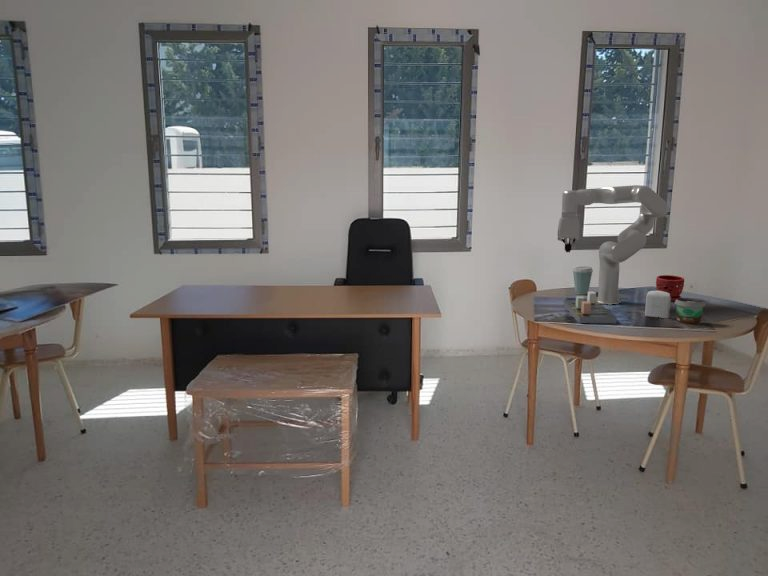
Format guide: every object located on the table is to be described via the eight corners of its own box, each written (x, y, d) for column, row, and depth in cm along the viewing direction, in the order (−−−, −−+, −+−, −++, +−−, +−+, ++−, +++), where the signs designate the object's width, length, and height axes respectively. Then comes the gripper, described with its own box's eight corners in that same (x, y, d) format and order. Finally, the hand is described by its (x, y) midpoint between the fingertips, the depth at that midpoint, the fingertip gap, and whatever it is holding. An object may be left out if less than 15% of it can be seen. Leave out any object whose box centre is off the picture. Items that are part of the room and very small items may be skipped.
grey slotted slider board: (596, 306, 288) (596, 300, 288) (616, 323, 255) (616, 317, 254) (563, 306, 290) (563, 300, 289) (579, 323, 257) (579, 316, 256)
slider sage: (581, 306, 274) (582, 296, 273) (584, 308, 270) (584, 298, 269) (575, 306, 274) (576, 296, 273) (577, 308, 270) (578, 298, 269)
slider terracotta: (587, 311, 263) (588, 301, 262) (590, 314, 259) (590, 303, 258) (581, 311, 264) (581, 301, 263) (583, 314, 259) (584, 303, 258)
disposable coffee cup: (575, 295, 313) (576, 268, 310) (568, 291, 324) (569, 265, 321) (594, 295, 313) (595, 268, 310) (587, 291, 324) (588, 265, 321)
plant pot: (649, 298, 302) (651, 276, 300) (666, 296, 308) (667, 274, 306) (671, 303, 291) (673, 280, 289) (688, 300, 297) (690, 277, 294)
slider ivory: (593, 301, 284) (593, 291, 283) (595, 303, 280) (596, 293, 279) (587, 301, 284) (587, 291, 283) (589, 303, 280) (589, 293, 279)
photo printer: (669, 317, 264) (671, 291, 262) (668, 319, 261) (670, 292, 258) (645, 314, 270) (647, 289, 268) (644, 316, 267) (645, 290, 264)
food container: (674, 323, 253) (676, 301, 251) (673, 320, 259) (674, 298, 257) (706, 325, 249) (708, 303, 247) (703, 322, 254) (705, 300, 252)
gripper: (583, 214, 288) (581, 250, 292) (552, 215, 290) (551, 251, 293) (586, 215, 281) (584, 252, 285) (555, 216, 283) (554, 253, 286)
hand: (567, 251), depth 289 cm, fingers closed
